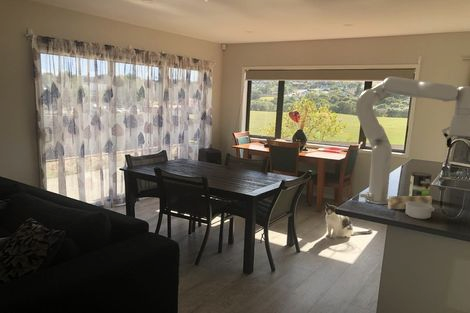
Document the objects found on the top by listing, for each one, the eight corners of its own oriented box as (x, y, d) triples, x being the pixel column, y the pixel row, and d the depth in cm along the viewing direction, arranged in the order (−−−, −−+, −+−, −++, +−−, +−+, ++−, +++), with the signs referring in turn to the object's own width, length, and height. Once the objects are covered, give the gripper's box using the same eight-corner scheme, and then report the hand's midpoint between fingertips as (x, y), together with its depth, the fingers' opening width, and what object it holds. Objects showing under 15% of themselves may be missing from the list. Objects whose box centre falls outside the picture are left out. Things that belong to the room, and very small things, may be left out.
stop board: (389, 209, 182) (390, 197, 182) (387, 207, 184) (388, 196, 184) (430, 208, 185) (432, 197, 184) (428, 207, 187) (429, 196, 186)
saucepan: (454, 225, 161) (455, 212, 160) (403, 217, 169) (405, 205, 169) (452, 218, 171) (453, 206, 170) (404, 211, 180) (405, 200, 179)
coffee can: (433, 200, 201) (436, 175, 199) (417, 201, 198) (420, 176, 196) (419, 196, 211) (421, 171, 209) (404, 196, 208) (406, 172, 206)
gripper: (487, 113, 171) (483, 149, 174) (447, 112, 184) (443, 145, 187) (482, 113, 166) (477, 150, 169) (441, 111, 180) (437, 146, 182)
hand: (459, 148), depth 178 cm, fingers open, 9 cm apart
